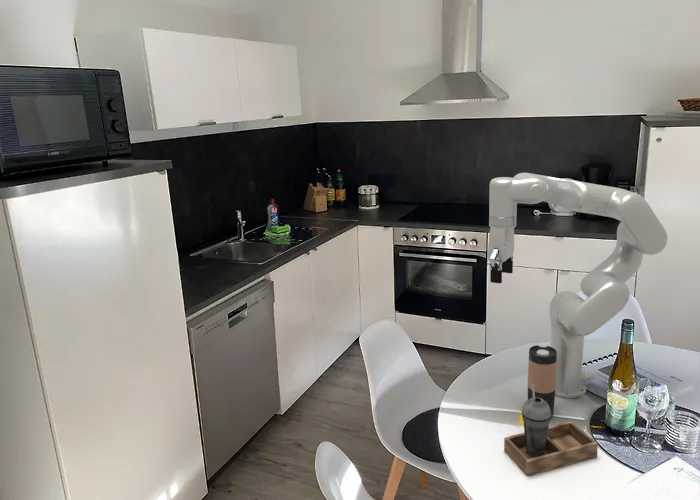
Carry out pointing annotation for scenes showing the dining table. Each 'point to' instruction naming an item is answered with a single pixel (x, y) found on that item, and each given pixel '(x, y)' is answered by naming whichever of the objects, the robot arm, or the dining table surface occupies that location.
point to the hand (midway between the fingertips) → (501, 277)
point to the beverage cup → (536, 425)
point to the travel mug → (542, 374)
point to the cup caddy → (553, 449)
